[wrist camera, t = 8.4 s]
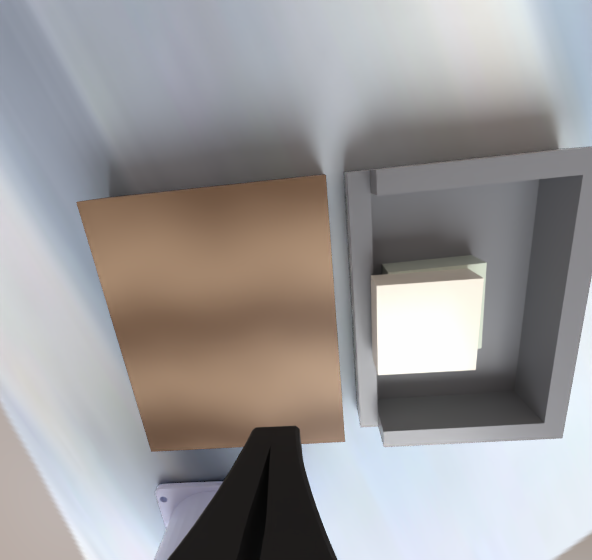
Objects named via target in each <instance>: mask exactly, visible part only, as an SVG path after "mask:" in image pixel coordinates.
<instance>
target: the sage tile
mask: <svg viewBox="0 0 592 560" xmlns="http://www.w3.org/2000/svg"><path fill="white" fill-rule="evenodd" d="M486 266H487V263H486V262H484V261H482V260H480V259H479V258H477V257H475V256H473V255H466V256H456V257H446V258H436V259H426V260H416V261H406V262H396V263H387V264H382V275H384V274H397V273H411V272H425V271H439V270H453V269H466V268H468V269H470V270H471V271H473V272H475V273H476V274H478V275H479V276H481V277H482V278H484V282H483V294H482V305H481V316H480V327H479V338H478V349H480V348H481V347H482V331H483V315H484V299H485V283H486Z"/></svg>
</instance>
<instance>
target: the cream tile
mask: <svg viewBox="0 0 592 560" xmlns="http://www.w3.org/2000/svg"><path fill="white" fill-rule="evenodd" d="M483 282H484V278H482V277H481V276H479V275H478V274H476V273H475V272H473V271H471V270H470V269H468V268H466V269H453V270H439V271H425V272H411V273H397V274H384V275H371V317H372V359H373V362H374V365H375V368H376V371H377V374H378V375H389V374H408V373H427V372H446V371H465V370H476V360H477V349H478V338H479V327H480V316H481V305H482V294H483Z"/></svg>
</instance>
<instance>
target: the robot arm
mask: <svg viewBox="0 0 592 560" xmlns="http://www.w3.org/2000/svg"><path fill="white" fill-rule="evenodd" d="M155 495H156V498H157V502H158V505H159V508H160V511H161V514H162V518H163V521H164V524H165V527H166V531H165V533H164V536H163V538H162V541H161V543H160V546H159V548H158V551H157V553H156V556H155V558H154V560H337V558H336V555H335V553H334V551H333V548H332V546H331V544H330V541H329V539H328V536H327V534H326V531H325V529H324V526H323V523H322V521H321V518H320V515H319V512H318V510H317V507H316V504H315V501H314V498H313V495H312V492H311V488H310V485H309V482H308V478H307V475H306V471H305V467H304V463H303V456H302V447H301V437H300V429H299V428H298V427H297V426H276V427H255V428H254V429H253V430H252V432H251V434H250V436H249V438H248V440H247V442H246V443H245V445H244V447H243V449H242V451H241V453H240V454H239V456H238V458H237V460H236V461H235V463H234V465H233V466H232V468H231V470H230V471H229V473H228V475H227V476H226V478H225V479H224V481H214V482H191V483H169V484H160V485H158V486H157V488H156V490H155Z"/></svg>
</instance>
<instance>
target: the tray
mask: <svg viewBox="0 0 592 560" xmlns="http://www.w3.org/2000/svg"><path fill="white" fill-rule="evenodd" d="M344 180H345V198H346V216H347V234H348V252H349V270H350V288H351V306H352V324H353V342H354V360H355V378H356V396H357V411H358V416H359V421H360V426H361V427H376V426H378V427H379V431H380V434H381V438H382V442H383V446H384V447H395V446H415V445H435V444H455V443H475V442H495V441H516V440H536V439H556V438H562V437H563V432H564V426H565V421H566V415H567V409H568V404H569V398H570V393H571V387H572V382H573V376H574V371H575V365H576V359H577V354H578V348H579V343H580V337H581V332H582V326H583V321H584V315H585V309H586V304H587V298H588V293H589V287H590V282H591V276H592V146H591V147H579V148H566V149H555V150H546V151H536V152H527V153H518V154H508V155H499V156H490V157H480V158H471V159H462V160H452V161H443V162H434V163H424V164H415V165H406V166H396V167H387V168H378V169H368V170H359V171H350V172H344ZM466 255H473V256H475V257H477V258H479V259H480V260H482V261H484V262H486V263H487V266H486V283H485V299H484V315H483V331H482V347H481V348H480V349H477V360H476V370H465V371H446V372H427V373H408V374H389V375H378V374H377V371H376V368H375V365H374V362H373V359H372V317H371V275H382V264H387V263H396V262H406V261H416V260H426V259H436V258H446V257H456V256H466Z"/></svg>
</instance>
